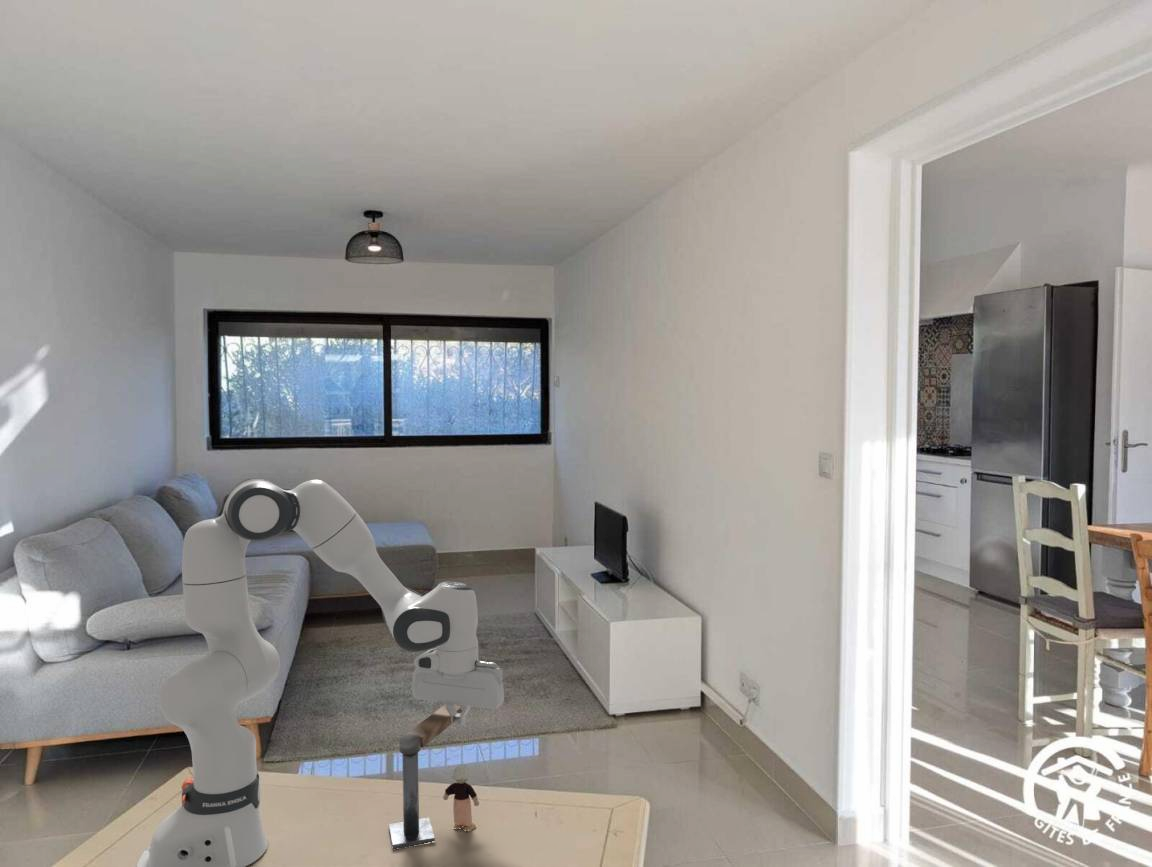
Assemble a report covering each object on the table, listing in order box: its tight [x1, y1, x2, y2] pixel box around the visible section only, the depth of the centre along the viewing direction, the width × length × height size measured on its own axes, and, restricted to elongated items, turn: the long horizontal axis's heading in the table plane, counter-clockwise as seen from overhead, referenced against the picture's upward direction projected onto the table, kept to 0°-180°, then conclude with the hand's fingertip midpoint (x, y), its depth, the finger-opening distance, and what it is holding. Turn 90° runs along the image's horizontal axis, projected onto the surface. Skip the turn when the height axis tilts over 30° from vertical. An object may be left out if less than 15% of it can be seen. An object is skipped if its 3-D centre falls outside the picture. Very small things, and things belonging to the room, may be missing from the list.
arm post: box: [388, 752, 436, 850], centre depth 162 cm, size 8×8×17 cm
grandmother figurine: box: [442, 764, 480, 832], centre depth 165 cm, size 8×4×13 cm, turn 84°
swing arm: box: [399, 703, 463, 754], centre depth 169 cm, size 20×4×2 cm, turn 161°
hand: (458, 723), depth 173 cm, fingers closed
